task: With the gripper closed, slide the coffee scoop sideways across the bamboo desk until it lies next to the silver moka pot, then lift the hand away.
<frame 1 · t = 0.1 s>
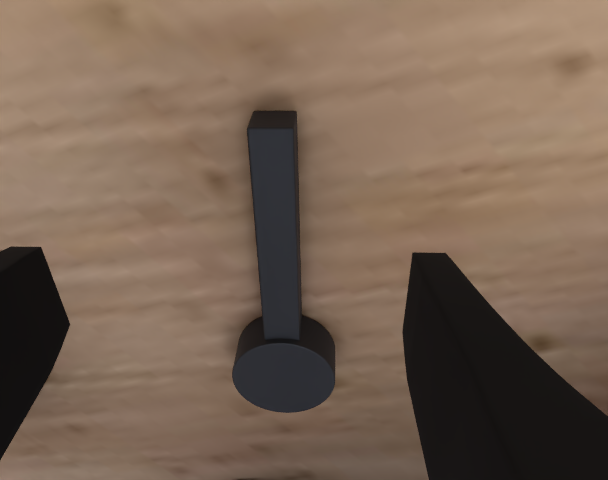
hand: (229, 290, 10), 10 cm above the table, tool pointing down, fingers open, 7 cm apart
coffee scoop: (283, 282, 23), on the table
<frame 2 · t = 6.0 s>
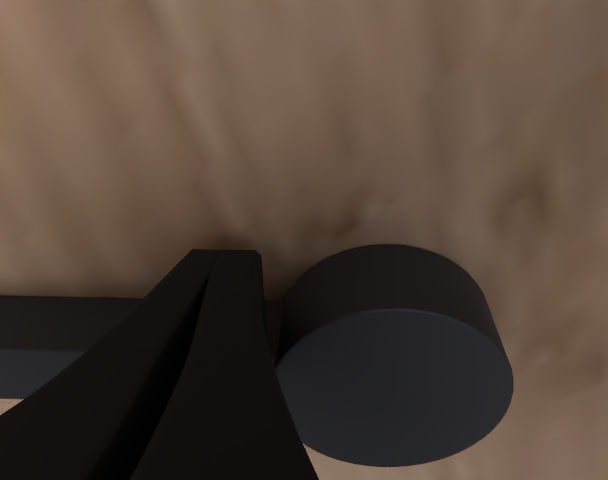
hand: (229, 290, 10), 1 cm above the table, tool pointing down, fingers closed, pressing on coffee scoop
coffee scoop: (203, 324, 12), on the table, touching gripper
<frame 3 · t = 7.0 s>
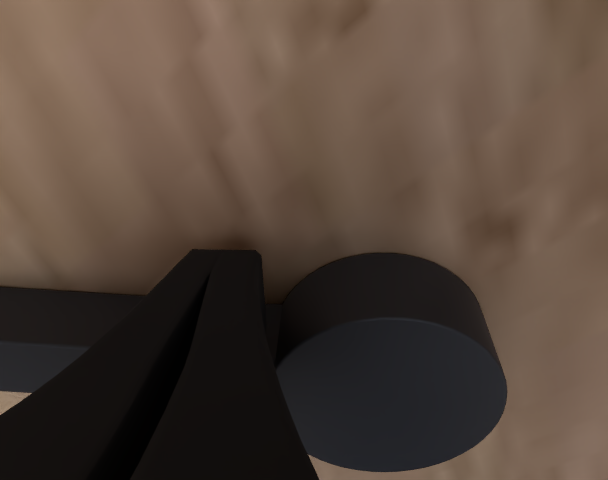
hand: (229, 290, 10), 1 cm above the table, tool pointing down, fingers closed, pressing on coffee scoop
coffee scoop: (200, 323, 12), on the table, touching gripper
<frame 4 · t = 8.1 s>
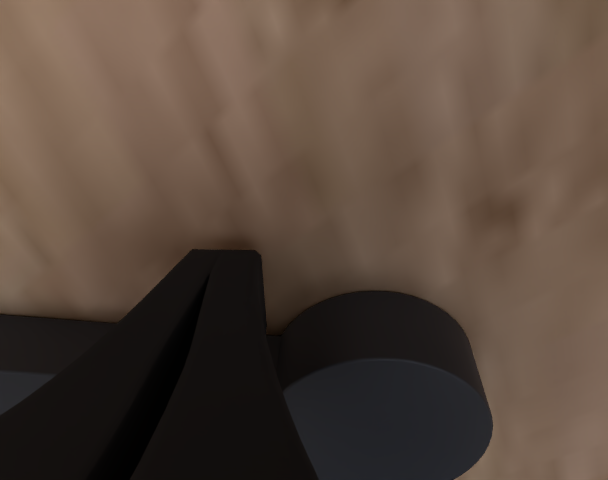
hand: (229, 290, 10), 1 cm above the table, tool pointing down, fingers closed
coffee scoop: (201, 352, 12), on the table
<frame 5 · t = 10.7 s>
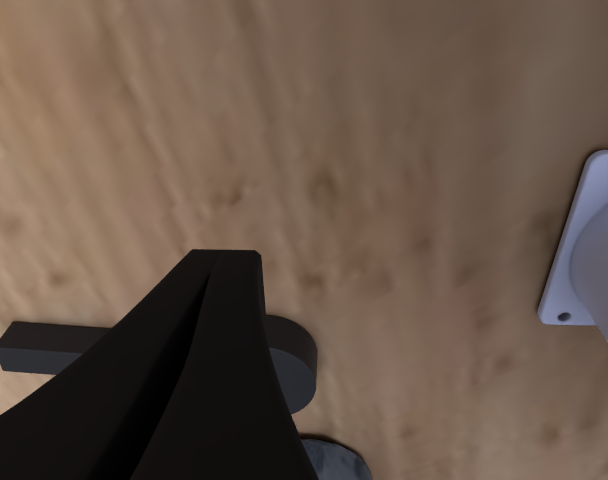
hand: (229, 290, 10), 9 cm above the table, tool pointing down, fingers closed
coffee scoop: (181, 345, 24), on the table
moka pot: (293, 475, 31), on the table
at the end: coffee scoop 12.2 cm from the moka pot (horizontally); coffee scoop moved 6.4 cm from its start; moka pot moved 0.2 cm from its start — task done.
